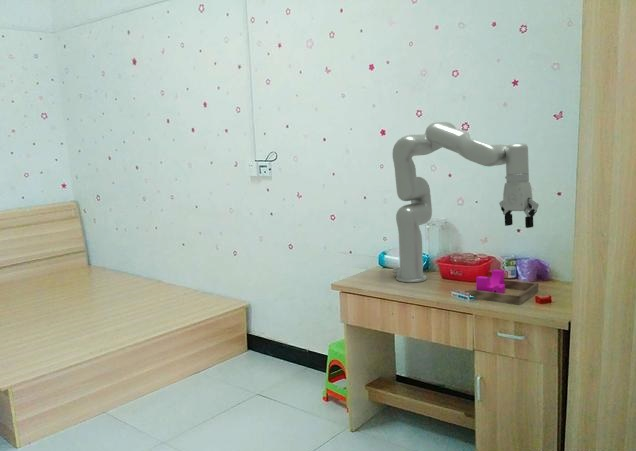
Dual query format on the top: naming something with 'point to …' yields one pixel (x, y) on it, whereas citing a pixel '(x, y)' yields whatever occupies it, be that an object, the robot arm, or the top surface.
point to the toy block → (491, 282)
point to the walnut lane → (507, 298)
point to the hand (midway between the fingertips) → (518, 226)
